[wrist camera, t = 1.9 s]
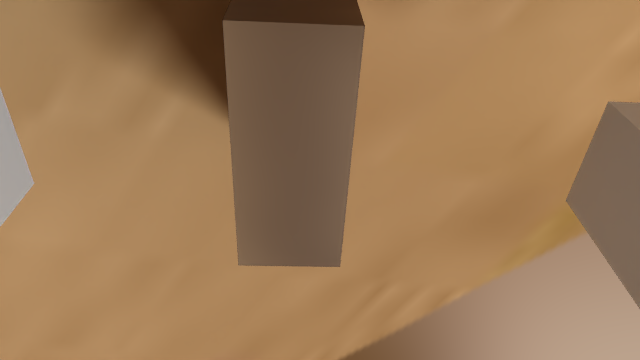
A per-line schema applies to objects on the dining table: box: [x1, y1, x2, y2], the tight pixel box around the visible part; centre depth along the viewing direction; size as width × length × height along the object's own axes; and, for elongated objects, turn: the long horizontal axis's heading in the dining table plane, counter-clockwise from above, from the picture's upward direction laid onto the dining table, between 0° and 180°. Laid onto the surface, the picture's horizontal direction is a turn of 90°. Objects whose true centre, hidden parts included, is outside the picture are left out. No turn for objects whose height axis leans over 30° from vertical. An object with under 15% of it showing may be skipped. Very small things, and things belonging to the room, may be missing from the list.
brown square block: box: [223, 0, 365, 267], centre depth 13 cm, size 2×6×6 cm, turn 177°
